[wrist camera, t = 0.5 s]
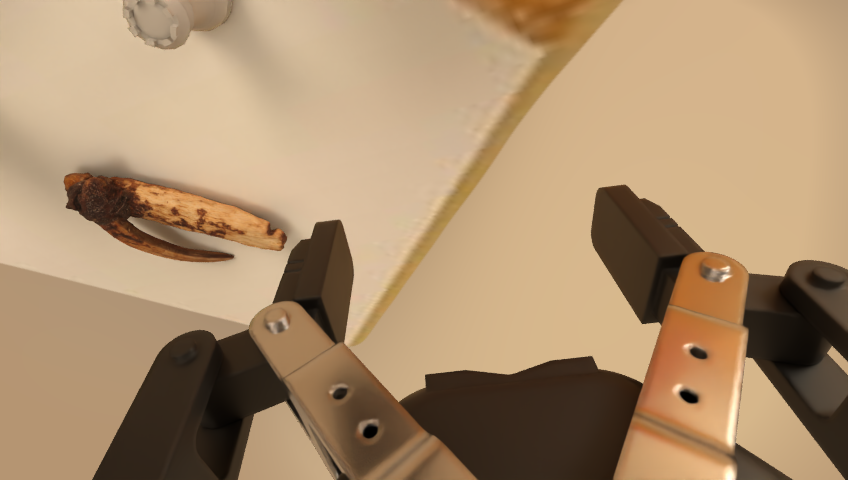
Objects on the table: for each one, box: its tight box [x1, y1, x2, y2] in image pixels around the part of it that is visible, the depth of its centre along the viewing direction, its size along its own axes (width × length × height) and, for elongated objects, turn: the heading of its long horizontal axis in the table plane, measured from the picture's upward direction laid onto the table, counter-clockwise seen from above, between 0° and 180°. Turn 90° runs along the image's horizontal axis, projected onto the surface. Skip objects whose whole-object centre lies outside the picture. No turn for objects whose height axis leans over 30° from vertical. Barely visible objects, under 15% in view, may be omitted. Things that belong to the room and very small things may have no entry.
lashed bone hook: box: [64, 173, 287, 262], centre depth 38 cm, size 9×5×18 cm
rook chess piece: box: [123, 0, 232, 49], centre depth 25 cm, size 4×4×8 cm
